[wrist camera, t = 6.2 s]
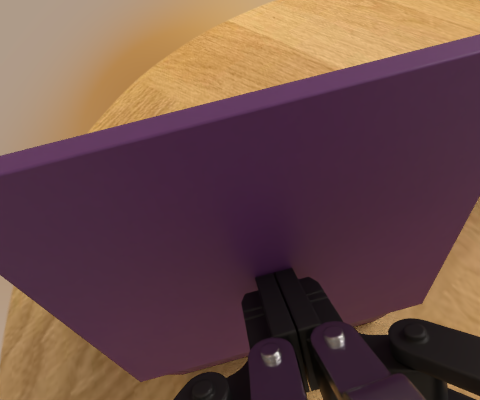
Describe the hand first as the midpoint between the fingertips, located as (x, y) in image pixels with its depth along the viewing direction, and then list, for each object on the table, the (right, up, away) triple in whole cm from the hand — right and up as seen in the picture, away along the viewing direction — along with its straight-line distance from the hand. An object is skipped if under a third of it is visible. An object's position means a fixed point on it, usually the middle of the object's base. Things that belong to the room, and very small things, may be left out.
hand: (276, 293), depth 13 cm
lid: (0, +1, 0) cm, 1 cm away
